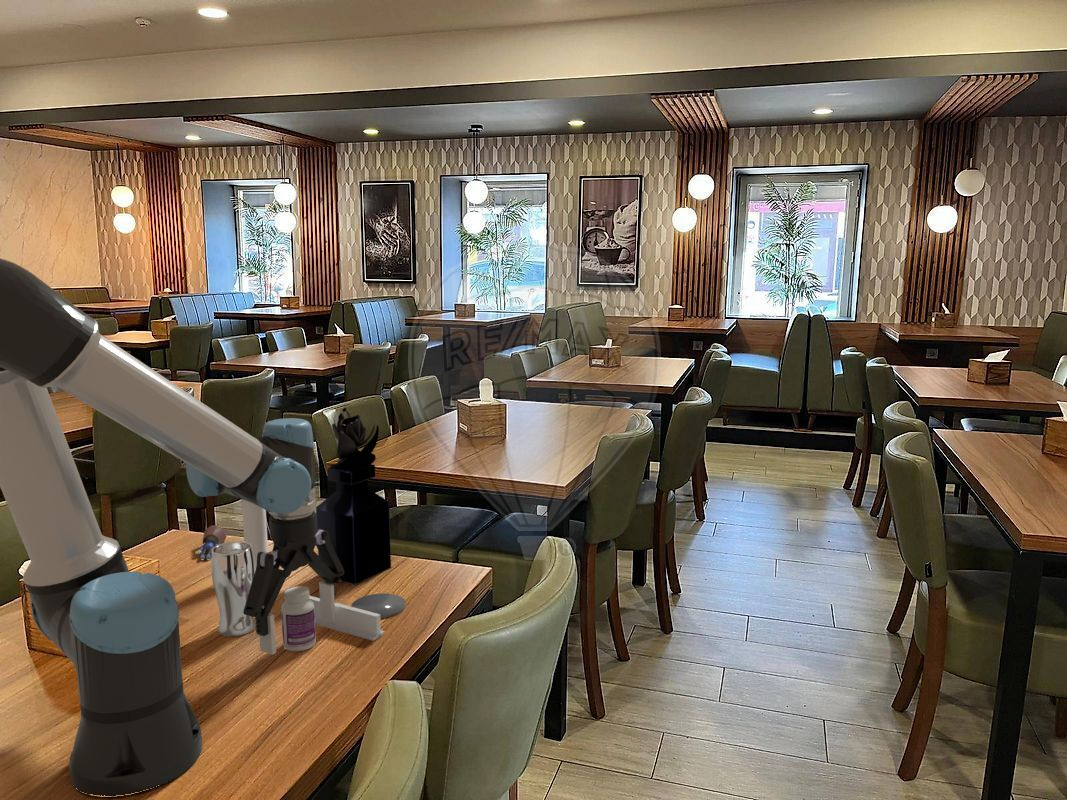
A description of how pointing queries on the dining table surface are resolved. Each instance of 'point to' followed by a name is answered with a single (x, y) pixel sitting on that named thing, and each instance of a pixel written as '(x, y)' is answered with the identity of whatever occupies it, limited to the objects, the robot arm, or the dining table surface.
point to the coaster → (381, 604)
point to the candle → (255, 528)
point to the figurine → (211, 540)
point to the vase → (356, 506)
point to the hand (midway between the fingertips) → (299, 634)
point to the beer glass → (233, 586)
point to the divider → (350, 621)
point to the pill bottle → (298, 620)
